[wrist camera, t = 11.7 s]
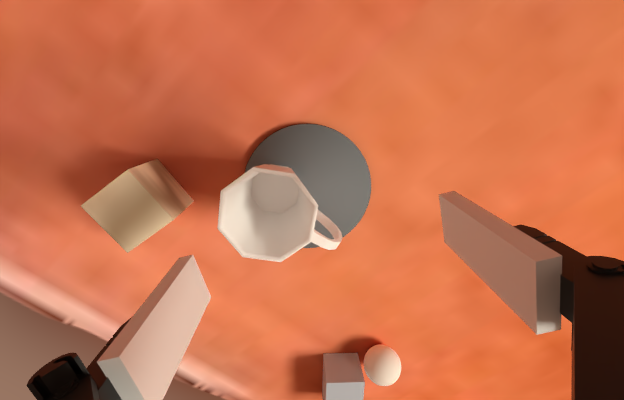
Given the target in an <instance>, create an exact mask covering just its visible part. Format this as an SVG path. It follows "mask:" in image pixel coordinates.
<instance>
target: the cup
mask: <svg viewBox="0 0 624 400" xmlns="http://www.w3.org/2000/svg"><path fill="white" fill-rule="evenodd" d="M316 220H318V221H319V222H320V223H321V224H322V225H323V226H324V227H325V228H326V229H327V230H328V231H329V232H330V233H331V234H332V236H333V237H334V239H330V238H327V237H325V236H324V235H322V234H321V233H319V232H318V231H316V230H315V229H314V227H315V221H316ZM218 230H219V231H220V232H221V233H222V234H223V235H224V236H225V238H226V239H227V240H228V241H229V242H230V243H231V244H232V245H233V247H234V248H235V249H236V250H237V251H238V252H239V253H240V254H241V256H242V257H246V258H253V259H261V260H269V261H276V262H282V261H283V260H285V259H286V258H288V257H289V256H291V255H292V254H294V253H295V252H297V251H298V250H300V249H301V248H303V247H304V246H306V245H307V244H309V243H310V242H312V243H314V244H316V245H318V246H320V247H322V248H325V249H328V250H333V249H336V248H337V247H338V245H339V244H340V242H341V240H342V233H341V231H340V230H339V228H338V227H337V226H336V225H335V224H334V223H333V222H332V221H331V220H330V219H329V218H328V217H327V216H325V215H324V214H323V213H322V212H321V211H319V210H318V204H317V203H316V201H315V200H314V199H313V197H312V196H311V194H310V193H309V192H308V190H307V189H306V187H305V186H304V185H303V183H302V182H301V181H300V179H299V178H298V177H297V175H296V174H295V173H294V171H293V170H292V169H291V168H289V167H286V166H279V165H273V164H270V165H268V164H263V165H260V166H255V167H252V168H251V169H250V170H248V171H247V172H246V173H244V174H243V175H242V176H240V177H239V178H237V179H236V180H235V181H233V182H232V183H231V184H229V185H228V186H227V187H225V188H224V189H222V190H221V193H220V205H219V217H218Z"/></svg>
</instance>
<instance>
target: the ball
mask: <svg viewBox="0 0 624 400" xmlns="http://www.w3.org/2000/svg"><path fill="white" fill-rule="evenodd" d="M364 369H365V372H366V374H367V376H368V377H369V379H370V380H371V381H372V382H374V383H375V384H377V385H380V386H389V385H391V384H393V383H395V382H396V381H397V379H398V378H399V376H400V373H401V362H400V359H399V357H398V355H397V353H396V352H395V351H394V350H393V349H392V348H390V347H389V346H386V345H381V344H379V345H375V346H373V347H371V348H370V349H369V350H368V351H367V352H366V354H365V357H364Z"/></svg>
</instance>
